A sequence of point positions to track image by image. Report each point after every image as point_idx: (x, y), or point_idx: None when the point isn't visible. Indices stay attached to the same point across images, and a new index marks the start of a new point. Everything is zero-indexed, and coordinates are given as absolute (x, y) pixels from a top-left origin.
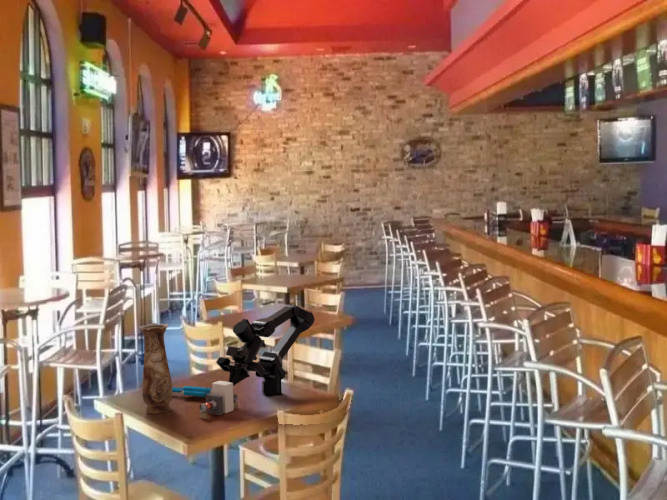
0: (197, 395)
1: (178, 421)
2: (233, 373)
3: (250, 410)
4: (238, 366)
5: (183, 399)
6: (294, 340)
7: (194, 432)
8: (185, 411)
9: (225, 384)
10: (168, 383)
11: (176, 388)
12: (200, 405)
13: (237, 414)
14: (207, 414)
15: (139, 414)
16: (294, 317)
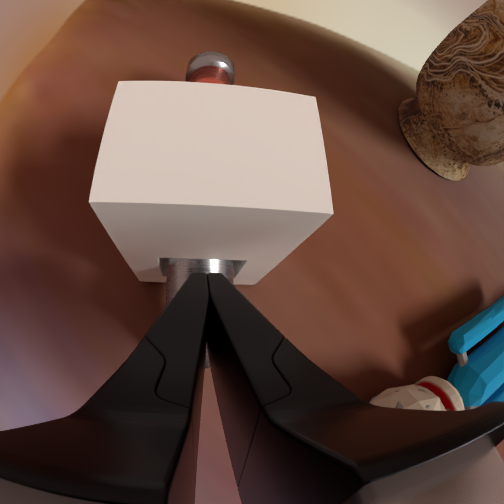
0: (469, 323)
1: (265, 53)
2: (255, 414)
3: (64, 353)
4: (24, 481)
5: (490, 300)
6: None
7: (126, 13)
8: (360, 157)
9: (132, 103)
10: (470, 54)
11: None
12: (227, 59)
13: (80, 243)
14: None
15: None
16: None
